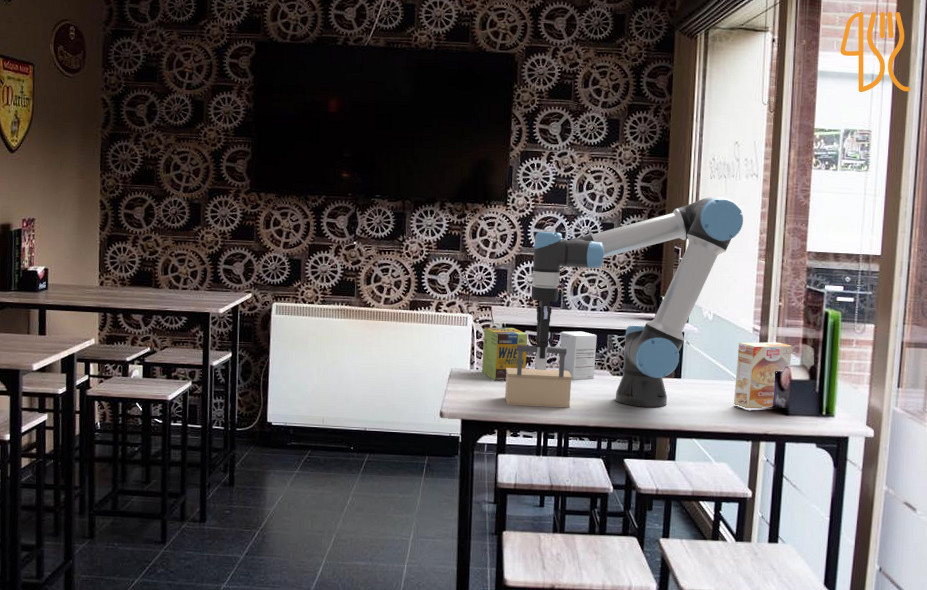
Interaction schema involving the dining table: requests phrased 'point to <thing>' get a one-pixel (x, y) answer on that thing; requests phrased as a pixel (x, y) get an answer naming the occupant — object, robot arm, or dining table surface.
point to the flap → (539, 373)
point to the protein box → (502, 351)
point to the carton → (537, 391)
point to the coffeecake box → (759, 372)
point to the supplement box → (579, 354)
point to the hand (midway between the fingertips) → (540, 368)
